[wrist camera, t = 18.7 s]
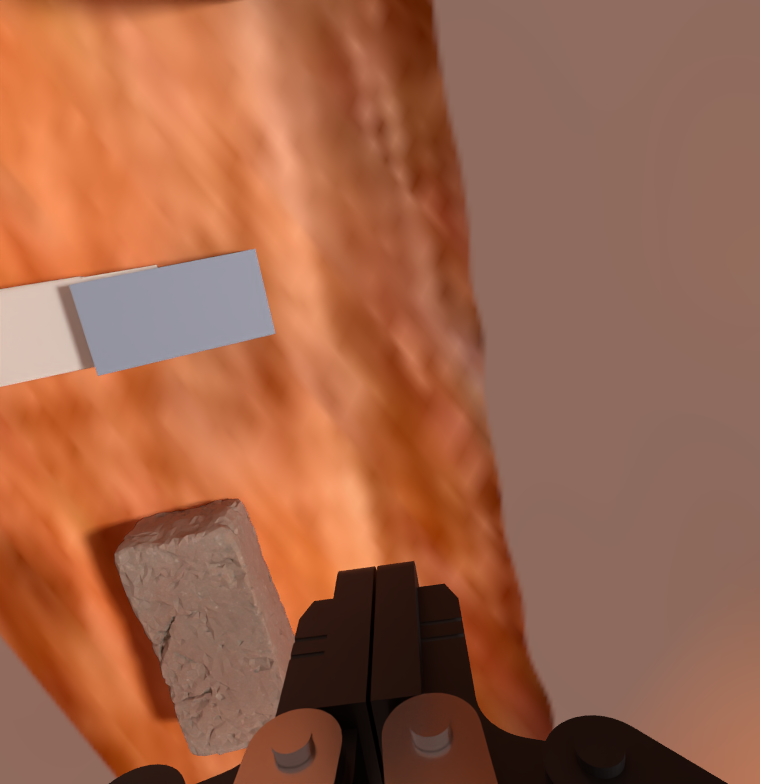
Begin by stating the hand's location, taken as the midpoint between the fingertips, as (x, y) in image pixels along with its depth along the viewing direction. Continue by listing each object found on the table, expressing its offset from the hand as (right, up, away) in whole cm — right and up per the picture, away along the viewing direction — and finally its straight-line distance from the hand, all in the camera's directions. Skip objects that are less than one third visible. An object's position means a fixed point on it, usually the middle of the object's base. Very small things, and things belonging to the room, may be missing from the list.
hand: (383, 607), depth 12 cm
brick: (-11, -11, +32) cm, 35 cm away
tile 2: (-13, +9, +25) cm, 29 cm away
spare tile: (-7, +10, +24) cm, 27 cm away
